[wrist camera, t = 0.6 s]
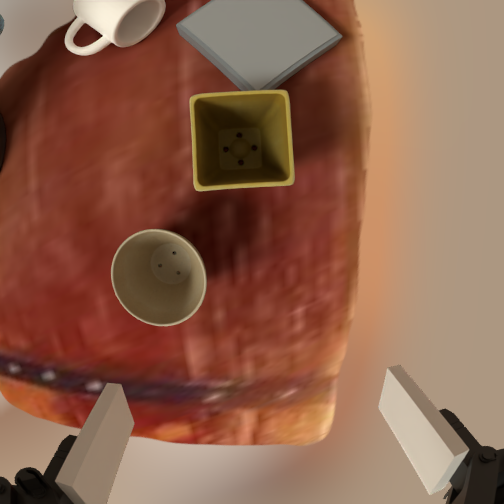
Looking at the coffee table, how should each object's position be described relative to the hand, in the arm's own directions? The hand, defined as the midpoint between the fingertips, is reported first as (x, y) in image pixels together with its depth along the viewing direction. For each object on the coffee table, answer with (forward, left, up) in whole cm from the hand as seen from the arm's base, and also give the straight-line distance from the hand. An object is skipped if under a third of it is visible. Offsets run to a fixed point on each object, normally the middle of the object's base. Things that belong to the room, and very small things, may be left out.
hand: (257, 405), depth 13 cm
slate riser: (-21, +21, -24) cm, 38 cm away
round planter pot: (-7, -6, -24) cm, 26 cm away
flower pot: (-11, +9, -24) cm, 28 cm away
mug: (-36, +9, -24) cm, 44 cm away
